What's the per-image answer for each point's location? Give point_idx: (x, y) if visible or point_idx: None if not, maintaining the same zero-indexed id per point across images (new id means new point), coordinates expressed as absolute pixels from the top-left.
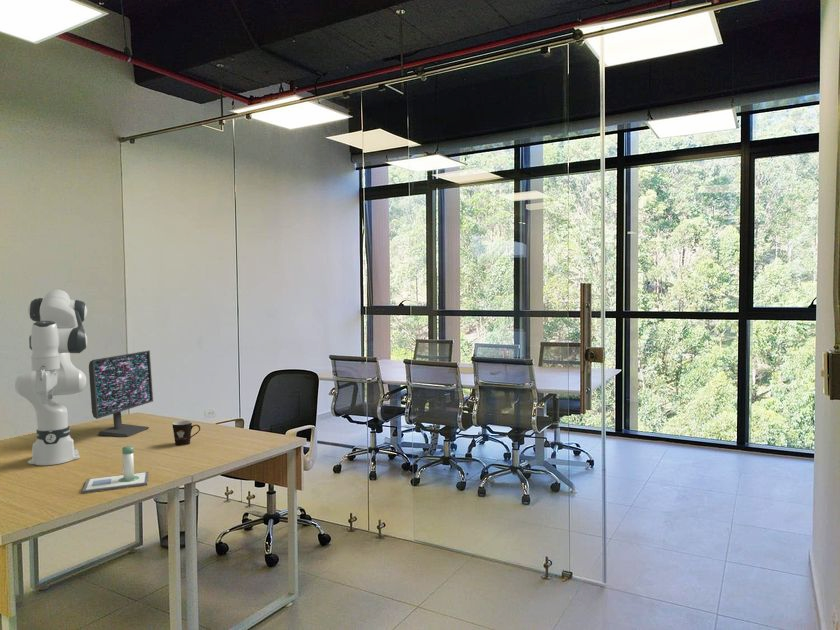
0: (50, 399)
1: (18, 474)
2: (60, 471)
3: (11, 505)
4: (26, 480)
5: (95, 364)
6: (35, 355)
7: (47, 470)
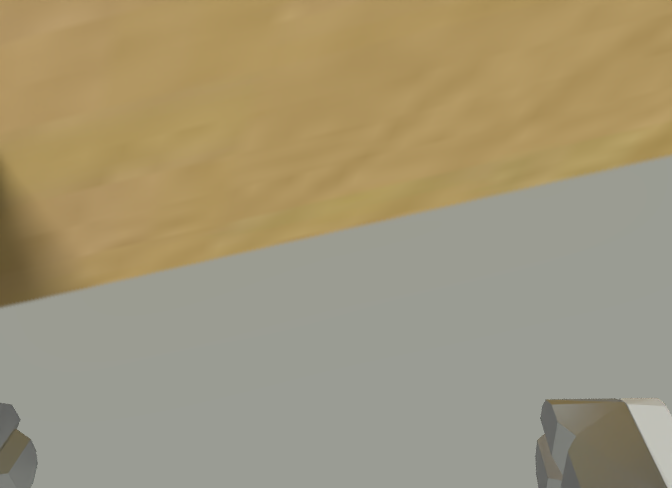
0: (16, 416)
1: (128, 237)
2: (107, 40)
3: (666, 141)
4: (244, 178)
5: None
6: None
7: (76, 119)
